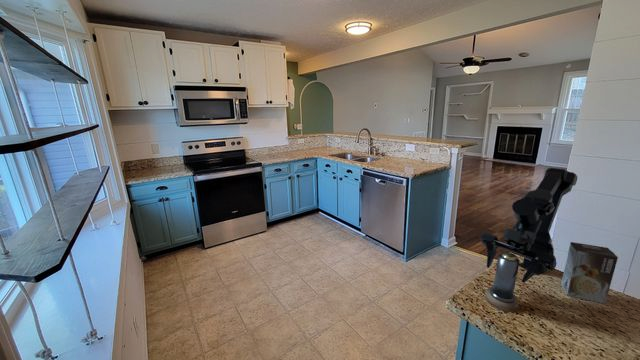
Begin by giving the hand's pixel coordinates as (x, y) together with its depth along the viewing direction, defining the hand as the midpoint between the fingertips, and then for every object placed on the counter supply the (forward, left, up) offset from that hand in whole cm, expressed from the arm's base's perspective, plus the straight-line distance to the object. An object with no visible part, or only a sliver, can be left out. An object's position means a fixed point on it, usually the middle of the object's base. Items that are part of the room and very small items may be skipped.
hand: (504, 274), depth 79 cm
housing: (-1, 0, -8) cm, 8 cm away
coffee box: (-28, +6, -10) cm, 31 cm away
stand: (-1, 0, -10) cm, 10 cm away
